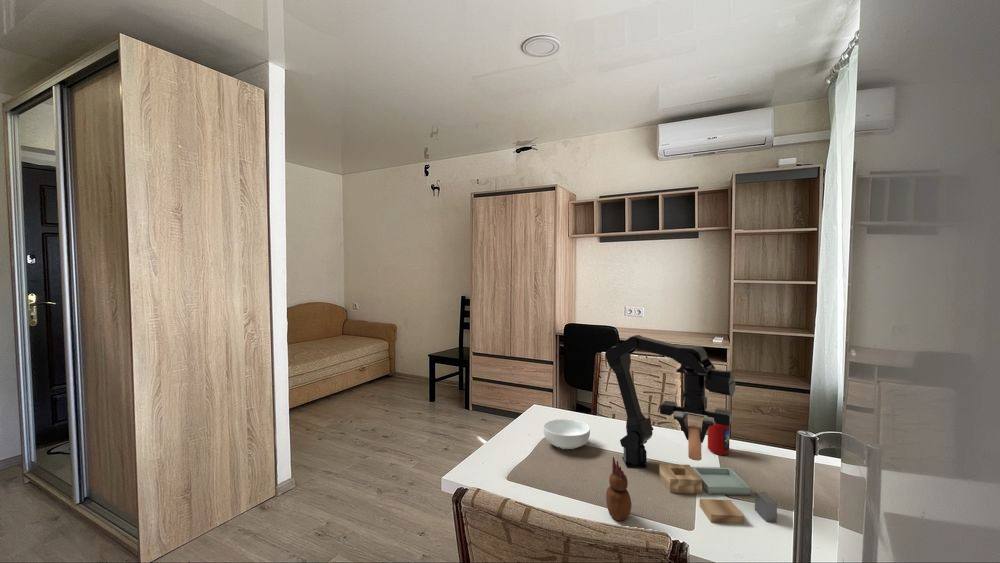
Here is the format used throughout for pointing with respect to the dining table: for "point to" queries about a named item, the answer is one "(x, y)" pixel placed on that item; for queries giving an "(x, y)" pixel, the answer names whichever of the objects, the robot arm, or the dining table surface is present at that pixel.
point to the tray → (722, 481)
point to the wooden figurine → (618, 494)
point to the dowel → (694, 443)
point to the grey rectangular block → (766, 506)
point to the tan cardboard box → (721, 511)
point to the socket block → (680, 478)
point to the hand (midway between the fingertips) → (694, 441)
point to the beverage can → (718, 439)
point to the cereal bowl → (566, 433)
